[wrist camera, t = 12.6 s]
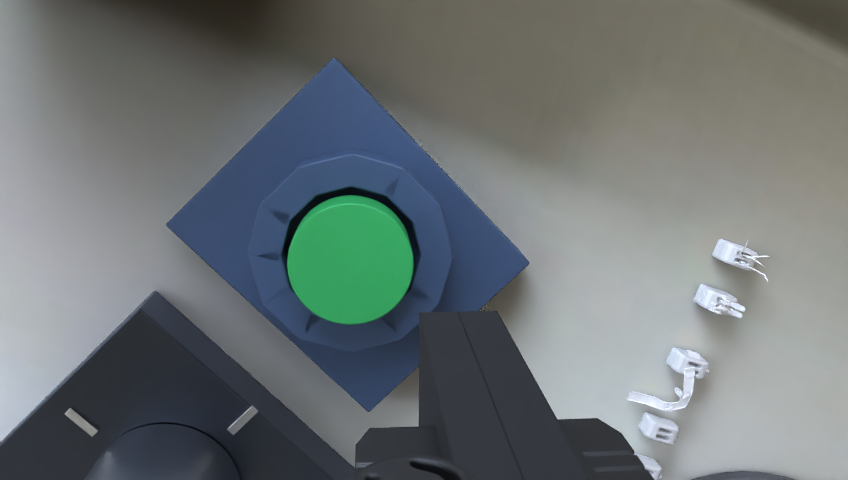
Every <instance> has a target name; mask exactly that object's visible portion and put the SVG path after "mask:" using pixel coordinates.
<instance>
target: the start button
mask: <svg viewBox="0 0 848 480" xmlns="http://www.w3.org/2000/svg"><path fill="white" fill-rule="evenodd" d="M413 267H414V261H413V253H412V248H411V244H410V240H409V237H408V234H407V231H406V229H405V227H404V225H403V224H402V222H401V221H400V219H399V218H398V217H397V216H396V214H395V213H394V212H393V211H392V210H390V209H389V208H388V207H387V206H385V205H384V204H382V203H380V202H378V201H376V200H374V199H371V198H368V197H363V196H357V195H344V196H339V197H334V198H331V199H328V200H326V201H324V202H322V203H320V204H319V205H317V206H316V207H314V208H313V209H312V210H311V211H309V212H308V214H307V215H306V216H305V217H304V218H303V219H302V221H301V222H300V224H299V226H298V228H297V230H296V232H295V234H294V237H293V239H292V242H291V245H290V248H289V252H288V259H287V268H288V275H289V280H290V283H291V286H292V288H293V290H294V292H295V294H296V295H297V297H298V298H299V300H300V301H301V302H302V303H303V304H304V305H305V307H306V308H308V309H309V310H310V311H311V312H313V313H314V314H316V315H317V316H319V317H321V318H323V319H325V320H328V321H331V322H334V323H339V324H347V325H354V324H362V323H367V322H370V321H373V320H376V319H378V318H380V317H382V316H384V315H385V314H387V313H388V312H390V311H391V310H392V309H393V308H395V306H396V305H397V304H398V303H399V302H400V301H401V300H402V298H403V297H404V295H405V294H406V292H407V290H408V288H409V285H410V283H411V279H412V275H413Z"/></svg>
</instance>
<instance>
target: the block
mask: <svg viewBox="0 0 848 480" xmlns="http://www.w3.org/2000/svg"><path fill="white" fill-rule="evenodd" d="M344 195H357V196H363V197H368V198H371V199H374V200H376V201H378V202H380V203H382V204H384V205H385V206H387V207H388V208H389V209H390V210H392V211H393V212H394V213H395V214H396V216H397V217H398V218H399V219H400V221H401V222H402V224H403V225H404V227H405V229H406V231H407V234H408V237H409V240H410V244H411V248H412V253H413V261H414V267H413V275H412V279H411V283H410V285H409V288H408V290H407V292H406V294H405V295H404V297H403V298H402V300H401V301H400V302H399V303H398V304H397V305H396V306H395V308H393V309H392V310H391V311H390V312H388V313H387V314H385V315H384V316H382V317H380V318H378V319H376V320H373V321H370V322H367V323H362V324H354V325H347V324H339V323H334V322H331V321H328V320H325V319H323V318H321V317H319V316H317V315H316V314H314V313H313V312H311V311H310V310H309V309H308V308H306V307H305V305H304V304H303V303H302V302H301V301H300V300H299V298H298V297H297V295H296V294H295V292H294V290H293V288H292V286H291V283H290V280H289V275H288V268H287V259H288V252H289V248H290V245H291V242H292V239H293V237H294V234H295V232H296V230H297V228H298V226H299V224H300V222H301V221H302V219H303V218H304V217H305V216H306V215H307V214H308V212H309V211H311V210H312V209H313V208H314V207H316V206H317V205H319V204H320V203H322V202H324V201H326V200H328V199H331V198H334V197H339V196H344ZM166 226H167V227H168V228H169V229H170V230H171V231H173V232H174V233H175V234H176V235H177V236H178V237H179V238H180V239H181V240H182V241H183V242H184V243H186V244H187V245H188V246H189V247H190V248H191V249H192V250H193V251H194V252H195V253H196V254H197V255H199V256H200V257H201V258H202V259H203V260H204V261H205V262H206V263H207V264H208V265H209V266H210V267H212V268H213V269H214V270H215V271H216V272H217V273H218V274H219V275H220V276H221V277H222V278H223V279H225V280H226V281H227V282H228V283H229V284H230V285H231V286H232V287H233V288H234V289H235V290H236V291H238V292H239V293H240V294H241V295H242V296H243V297H244V298H245V299H246V300H247V301H248V302H249V303H251V304H252V305H253V306H254V307H255V308H256V309H257V310H258V311H259V312H260V313H261V314H263V315H264V316H265V317H266V318H267V319H268V320H269V321H270V322H271V323H272V324H273V325H274V326H276V327H277V328H278V329H279V330H280V331H281V332H282V333H283V334H284V335H285V336H286V337H287V338H289V339H290V340H291V341H292V342H293V343H294V344H295V345H296V346H297V347H298V348H299V349H300V350H302V351H303V352H304V353H305V354H306V355H307V356H308V357H309V358H310V359H311V360H312V361H313V362H315V363H316V364H317V365H318V366H319V367H320V368H321V369H322V370H323V371H324V372H325V373H326V374H328V375H329V376H330V377H331V378H332V379H333V380H334V381H335V382H336V383H337V384H338V385H339V386H341V387H342V388H343V389H344V390H345V391H346V392H347V393H348V394H349V395H350V396H351V397H352V398H354V399H355V400H356V401H357V402H358V403H359V404H360V405H361V406H362V407H363V408H364V409H365V410H367V411H368V412H369V411H370V410H372V409H373V408H374V407H375V406H376V405H377V404H378V403H379V402H380V401H381V400H382V399H383V398H385V397H386V396H387V395H388V394H389V393H390V392H391V391H392V390H393V389H394V388H395V387H396V386H398V385H399V384H400V383H401V382H402V381H403V380H404V379H405V378H406V377H407V376H408V375H409V374H411V373H412V372H413V371H414V370H415V369H416V368H417V367H418V366H419V312H461V311H479V310H480V309H481V308H482V307H483V306H484V305H485V304H486V303H487V302H488V301H490V300H491V299H492V298H493V297H494V296H495V295H496V294H497V293H498V292H499V291H500V290H501V289H503V288H504V287H505V286H506V285H507V284H508V283H509V282H510V281H511V280H512V279H513V278H514V277H516V276H517V275H518V274H519V273H520V272H521V271H522V270H523V269H524V268H525V267H526V266H527V265H529V261H528V260H527V259H526V258H525V257H524V255H523V254H522V253H521V252H520V251H519V250H518V248H517V247H516V246H515V245H514V244H513V243H512V242H511V241H510V240H509V239H508V238H507V237H506V236H505V235H504V234H503V233H502V232H501V231H500V230H499V229H498V227H497V226H496V225H495V224H494V223H493V222H492V221H491V220H490V219H489V218H488V217H487V216H486V215H485V214H484V213H483V212H482V211H481V210H480V209H479V208H478V206H477V205H476V204H475V203H474V202H473V201H472V200H471V199H470V198H469V197H468V196H467V195H466V194H465V193H464V192H463V191H462V190H461V189H460V188H459V187H458V186H457V184H456V183H455V182H454V181H453V180H452V179H451V178H450V177H449V176H448V175H447V174H446V173H445V172H444V171H443V170H442V169H441V168H440V167H439V166H438V165H437V163H436V162H435V161H434V160H433V159H432V158H431V157H430V156H429V155H428V154H427V153H426V152H425V151H424V150H423V149H422V148H421V147H420V146H419V145H418V144H417V142H416V141H415V140H414V139H413V138H412V137H411V136H410V135H409V134H408V133H407V132H406V131H405V130H404V129H403V128H402V127H401V126H400V125H399V124H398V123H397V122H396V120H395V119H394V118H393V117H392V116H391V115H390V114H389V113H388V112H387V111H386V110H385V109H384V108H383V107H382V106H381V105H380V104H379V103H378V102H377V101H376V99H375V98H374V97H373V96H372V95H371V94H370V93H369V92H368V91H367V90H366V89H365V88H364V87H363V86H362V85H361V84H360V83H359V82H358V81H357V80H356V78H355V77H354V76H353V75H352V74H351V73H350V72H349V71H348V70H347V69H346V68H345V67H344V66H343V65H342V64H341V63H340V62H339V61H338V60H337V59H336V58H333V59H332V60H331V61H330V62H329V63H328V64H327V65H326V66H325V67H324V68H323V69H322V70H321V71H320V72H319V73H318V74H317V75H316V76H315V77H314V78H313V79H312V80H311V81H310V82H309V83H307V84H306V85H305V86H304V87H303V88H302V89H301V90H300V91H299V92H298V93H297V94H296V95H295V96H294V97H293V98H292V99H291V100H290V101H289V102H288V103H287V104H286V105H285V106H284V107H283V108H282V109H281V110H280V111H279V112H278V113H277V114H276V115H275V116H274V117H273V118H272V119H271V120H270V121H269V122H268V123H267V124H266V125H265V126H264V127H263V128H262V129H261V130H260V131H259V132H258V133H257V134H256V135H255V136H254V137H253V138H252V139H251V140H250V141H249V142H248V143H247V144H246V145H245V146H244V147H243V148H242V149H241V150H240V151H239V152H238V153H237V154H236V155H235V156H234V157H233V158H232V159H231V160H230V161H229V162H228V163H227V164H226V165H225V166H224V167H223V168H222V169H221V170H220V171H219V172H218V173H217V174H216V175H215V176H214V177H213V178H212V179H211V180H210V181H209V182H208V183H207V184H206V185H205V186H204V187H203V188H202V189H201V190H200V191H199V192H198V193H197V194H196V195H195V196H194V197H193V198H192V199H191V200H190V201H189V202H188V203H187V204H186V205H185V206H184V207H183V208H182V209H181V210H180V211H179V212H178V213H177V214H176V215H175V216H174V217H173V218H172V219H171V220H170V221H169V222H168V223H167V224H166Z"/></svg>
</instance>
